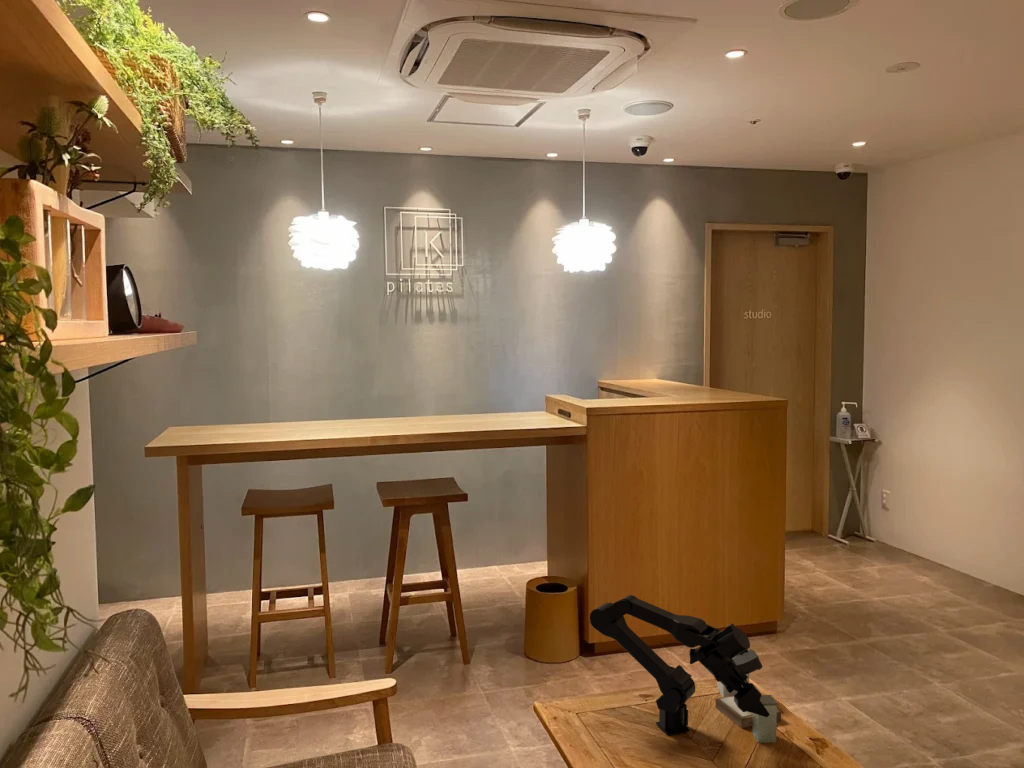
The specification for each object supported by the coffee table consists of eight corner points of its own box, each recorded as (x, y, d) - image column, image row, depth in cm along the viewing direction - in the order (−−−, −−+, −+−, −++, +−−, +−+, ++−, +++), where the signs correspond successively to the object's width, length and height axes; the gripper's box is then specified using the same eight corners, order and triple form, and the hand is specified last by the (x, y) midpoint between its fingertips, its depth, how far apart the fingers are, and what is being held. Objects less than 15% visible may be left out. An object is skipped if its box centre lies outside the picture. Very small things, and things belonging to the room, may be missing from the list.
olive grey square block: (757, 742, 204) (758, 703, 203) (752, 733, 208) (752, 695, 208) (776, 742, 204) (777, 703, 203) (770, 733, 208) (770, 694, 208)
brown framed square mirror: (741, 728, 211) (741, 718, 211) (715, 707, 222) (715, 698, 222) (780, 720, 215) (781, 710, 215) (753, 700, 226) (753, 691, 226)
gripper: (753, 657, 195) (798, 701, 196) (731, 628, 213) (773, 668, 214) (719, 689, 195) (765, 734, 196) (700, 657, 214) (742, 698, 215)
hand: (762, 706), depth 205 cm, fingers open, 9 cm apart
